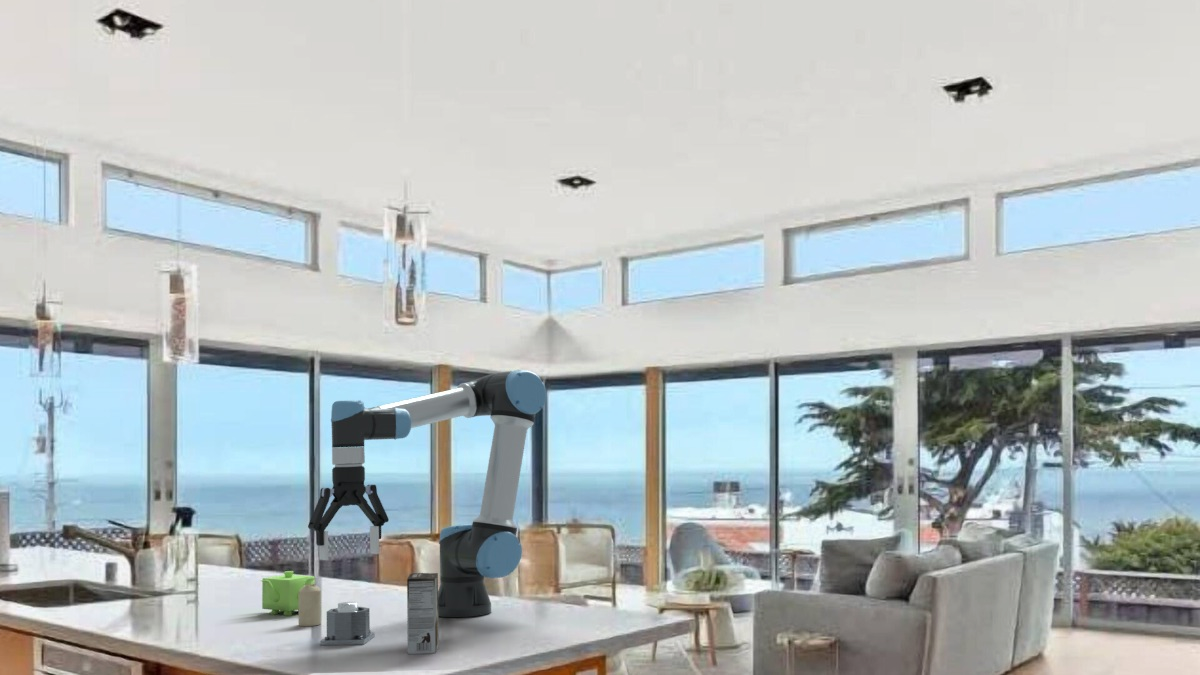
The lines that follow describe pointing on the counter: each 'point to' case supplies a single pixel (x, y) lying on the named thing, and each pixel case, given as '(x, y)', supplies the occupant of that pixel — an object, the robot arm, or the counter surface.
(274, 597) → the kettle
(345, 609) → the bolted post base
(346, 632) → the collar
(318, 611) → the candle
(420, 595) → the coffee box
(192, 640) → the counter surface
